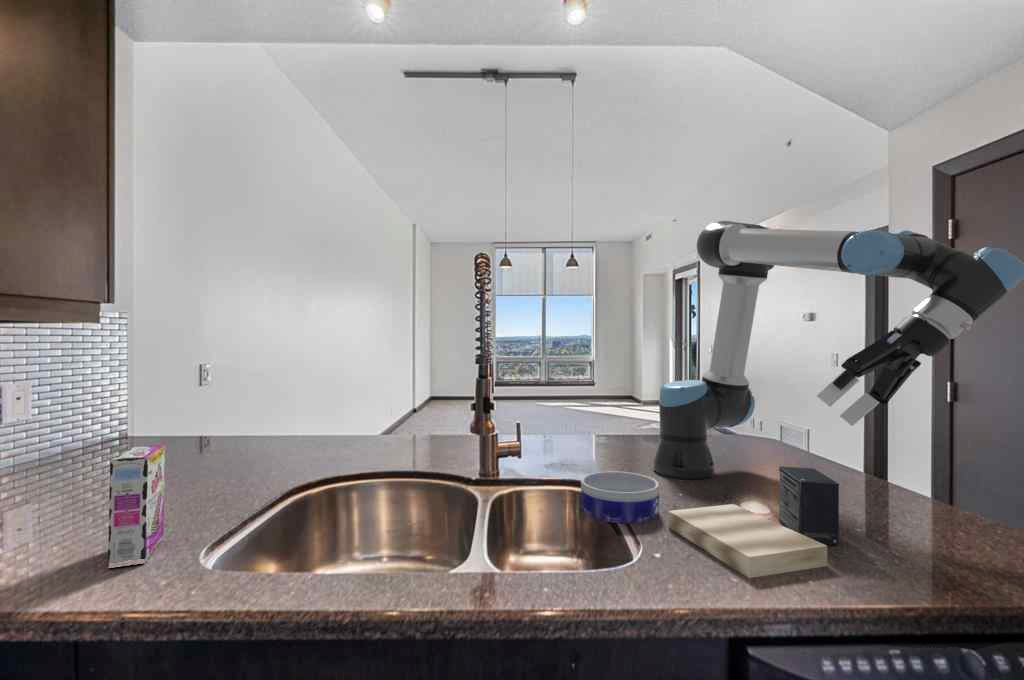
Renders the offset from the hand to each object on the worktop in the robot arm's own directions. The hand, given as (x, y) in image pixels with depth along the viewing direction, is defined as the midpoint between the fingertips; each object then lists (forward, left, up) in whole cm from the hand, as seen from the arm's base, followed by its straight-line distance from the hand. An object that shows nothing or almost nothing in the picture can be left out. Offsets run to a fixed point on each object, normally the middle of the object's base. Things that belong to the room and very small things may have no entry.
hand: (834, 411), depth 92 cm
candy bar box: (-19, -120, -21) cm, 124 cm away
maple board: (+5, -25, -20) cm, 33 cm away
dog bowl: (-16, -36, -21) cm, 45 cm away
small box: (+4, -10, -21) cm, 23 cm away
